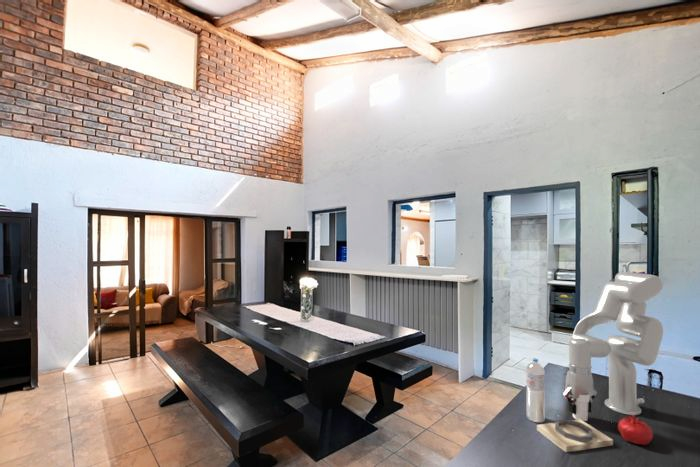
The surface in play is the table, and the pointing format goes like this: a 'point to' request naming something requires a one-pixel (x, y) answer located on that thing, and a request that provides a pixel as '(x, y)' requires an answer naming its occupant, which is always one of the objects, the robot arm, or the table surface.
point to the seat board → (575, 431)
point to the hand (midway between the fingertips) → (580, 411)
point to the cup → (582, 407)
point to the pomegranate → (635, 431)
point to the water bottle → (535, 392)
